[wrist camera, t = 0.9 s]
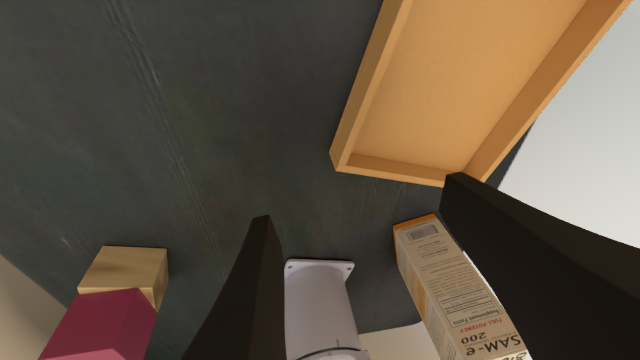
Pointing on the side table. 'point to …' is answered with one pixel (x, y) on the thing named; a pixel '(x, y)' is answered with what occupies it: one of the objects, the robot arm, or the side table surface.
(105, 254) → the base block
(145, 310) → the pink block
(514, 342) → the supplement box
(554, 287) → the robot arm
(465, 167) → the tray
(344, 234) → the side table surface
